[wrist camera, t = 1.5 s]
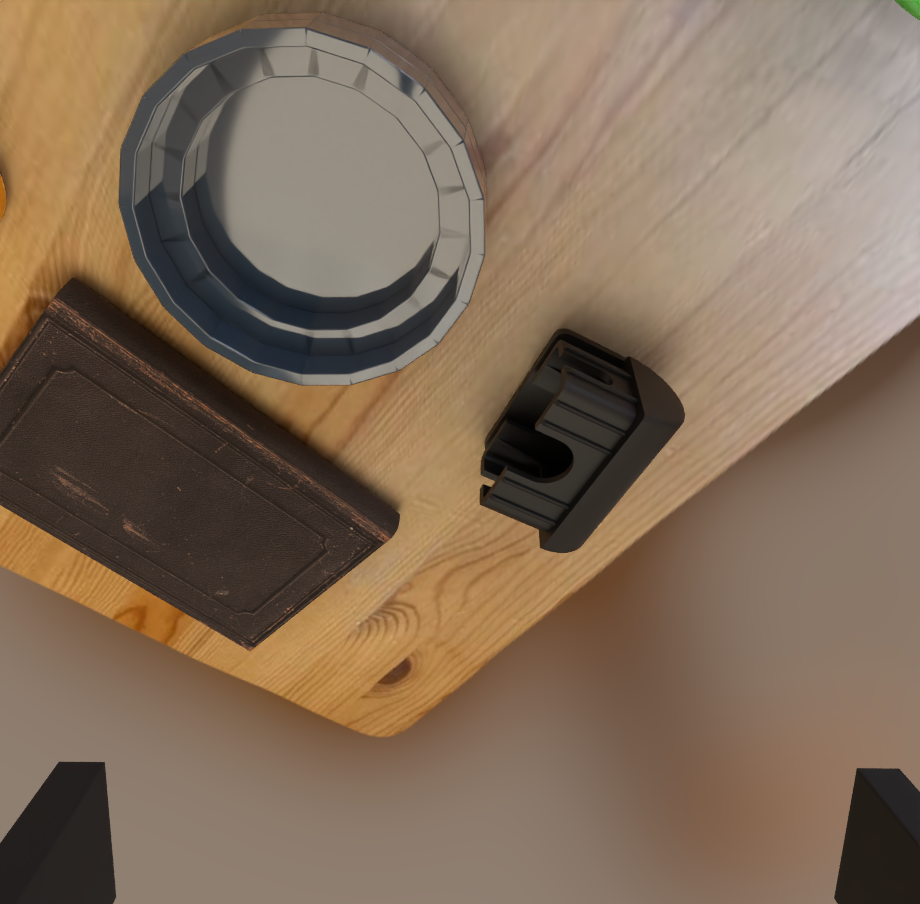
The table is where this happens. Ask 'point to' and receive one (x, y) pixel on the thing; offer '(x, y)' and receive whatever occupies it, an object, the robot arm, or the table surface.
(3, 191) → the beer can
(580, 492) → the end cap
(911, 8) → the snack cup
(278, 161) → the bowl
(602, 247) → the table surface
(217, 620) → the hardcover book
